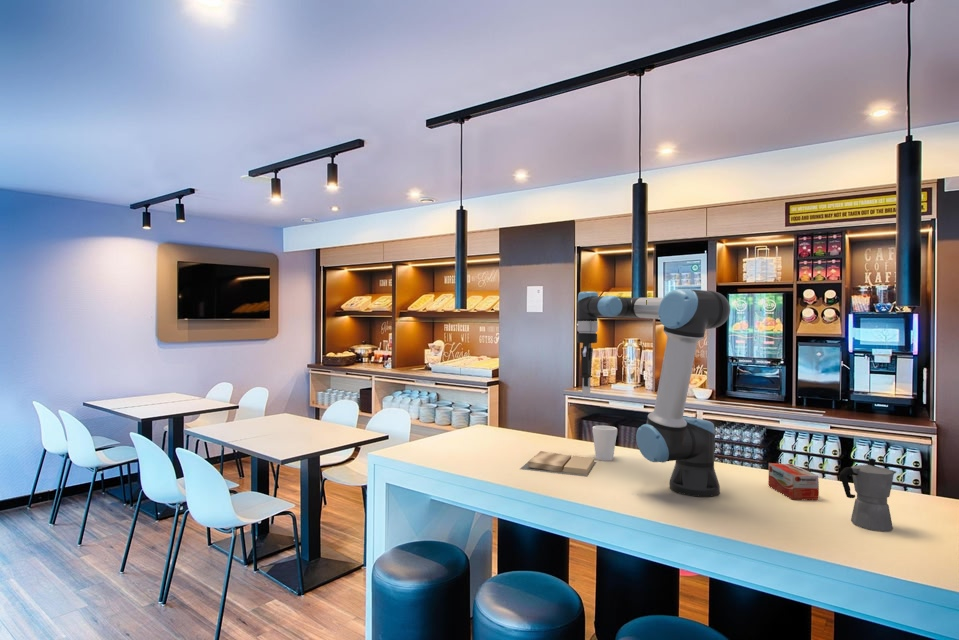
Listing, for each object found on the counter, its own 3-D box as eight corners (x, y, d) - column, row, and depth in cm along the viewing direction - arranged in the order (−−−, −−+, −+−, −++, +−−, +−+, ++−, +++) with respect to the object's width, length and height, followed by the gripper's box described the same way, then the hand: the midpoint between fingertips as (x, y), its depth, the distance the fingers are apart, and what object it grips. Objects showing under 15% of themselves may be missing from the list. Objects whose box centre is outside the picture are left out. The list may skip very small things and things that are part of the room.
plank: (571, 460, 209) (571, 455, 209) (561, 472, 192) (561, 466, 192) (540, 456, 213) (540, 451, 213) (528, 467, 196) (528, 461, 196)
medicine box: (819, 501, 168) (819, 475, 168) (792, 501, 168) (793, 474, 168) (791, 487, 183) (791, 463, 183) (766, 486, 183) (767, 462, 183)
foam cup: (617, 464, 208) (618, 430, 208) (592, 463, 209) (593, 429, 209) (615, 459, 217) (615, 426, 217) (591, 457, 218) (592, 425, 219)
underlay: (596, 464, 207) (596, 456, 207) (587, 479, 187) (587, 470, 187) (534, 458, 215) (534, 450, 215) (519, 471, 195) (519, 463, 195)
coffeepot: (881, 519, 152) (881, 454, 152) (909, 532, 143) (910, 463, 143) (827, 519, 151) (828, 454, 151) (852, 532, 142) (853, 462, 142)
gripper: (580, 332, 215) (579, 392, 214) (574, 332, 202) (573, 396, 202) (599, 332, 212) (598, 393, 212) (594, 332, 200) (593, 397, 200)
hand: (586, 394), depth 207 cm, fingers closed
